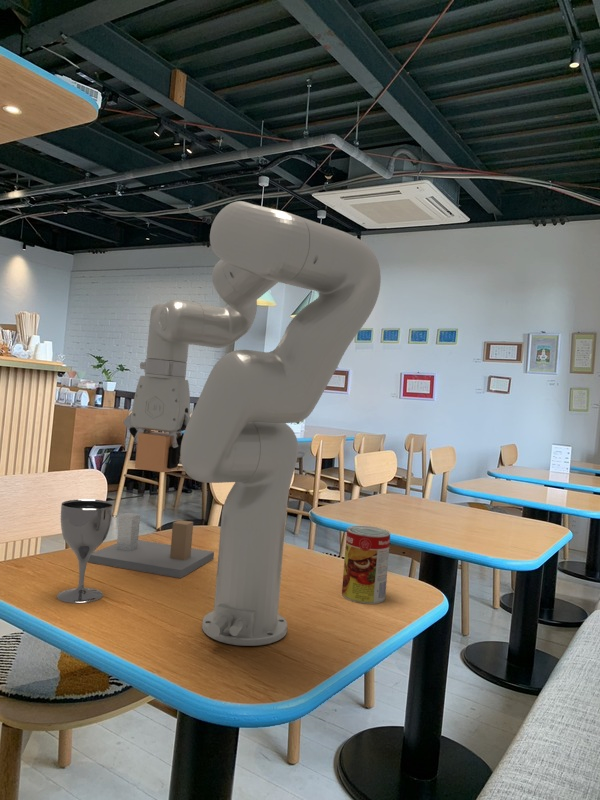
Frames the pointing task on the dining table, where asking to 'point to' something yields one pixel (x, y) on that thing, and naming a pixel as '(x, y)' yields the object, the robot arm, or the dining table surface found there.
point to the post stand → (158, 554)
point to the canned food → (366, 564)
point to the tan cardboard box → (153, 451)
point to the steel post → (128, 531)
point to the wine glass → (84, 540)
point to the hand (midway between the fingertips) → (156, 464)
